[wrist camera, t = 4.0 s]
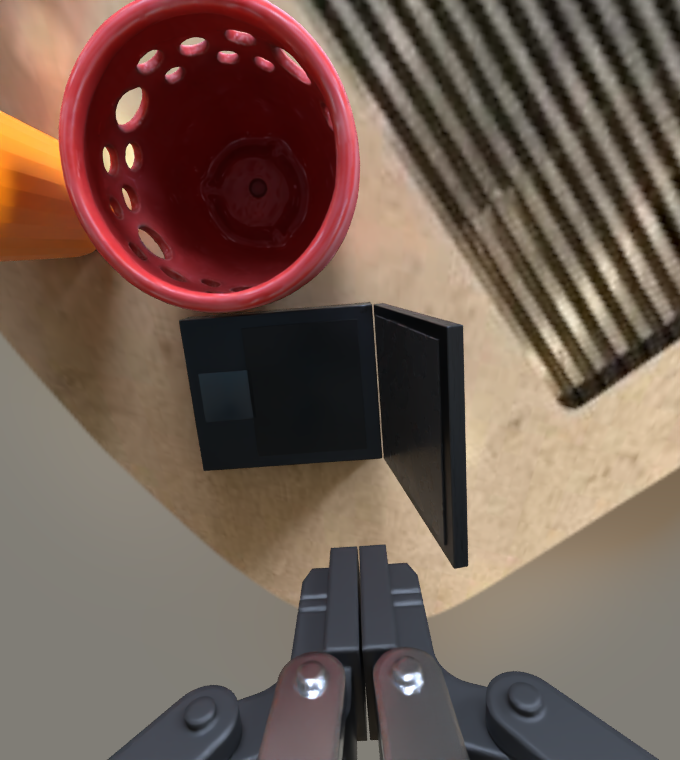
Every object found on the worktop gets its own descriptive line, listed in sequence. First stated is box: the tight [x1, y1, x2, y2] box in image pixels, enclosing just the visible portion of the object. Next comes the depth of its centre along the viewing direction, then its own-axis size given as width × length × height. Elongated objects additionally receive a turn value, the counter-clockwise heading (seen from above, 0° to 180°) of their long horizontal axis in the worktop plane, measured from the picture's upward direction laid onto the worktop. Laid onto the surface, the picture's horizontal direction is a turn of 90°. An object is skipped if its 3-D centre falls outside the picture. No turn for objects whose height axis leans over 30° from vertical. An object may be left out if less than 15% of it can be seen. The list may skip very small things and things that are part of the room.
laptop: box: [179, 302, 382, 471], centre depth 34 cm, size 13×11×2 cm
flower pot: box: [59, 0, 360, 313], centre depth 26 cm, size 13×13×12 cm
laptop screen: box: [374, 303, 468, 569], centre depth 26 cm, size 13×11×1 cm
